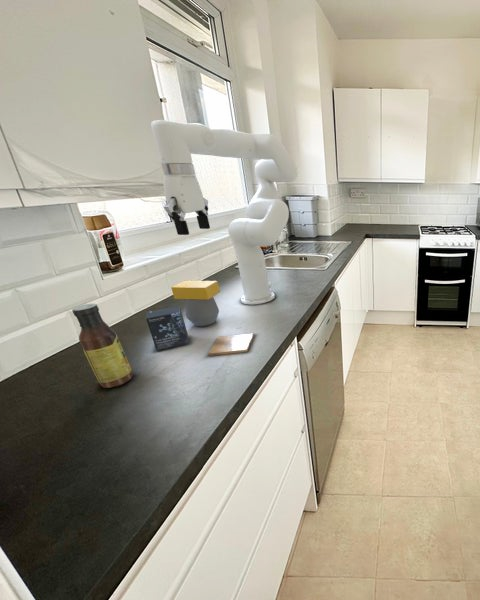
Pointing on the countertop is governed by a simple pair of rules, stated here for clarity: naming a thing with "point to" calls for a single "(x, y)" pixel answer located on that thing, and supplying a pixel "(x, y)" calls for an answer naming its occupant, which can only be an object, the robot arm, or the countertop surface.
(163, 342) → the box
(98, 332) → the sauce bottle
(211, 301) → the cup
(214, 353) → the plate
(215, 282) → the block
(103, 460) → the countertop surface
